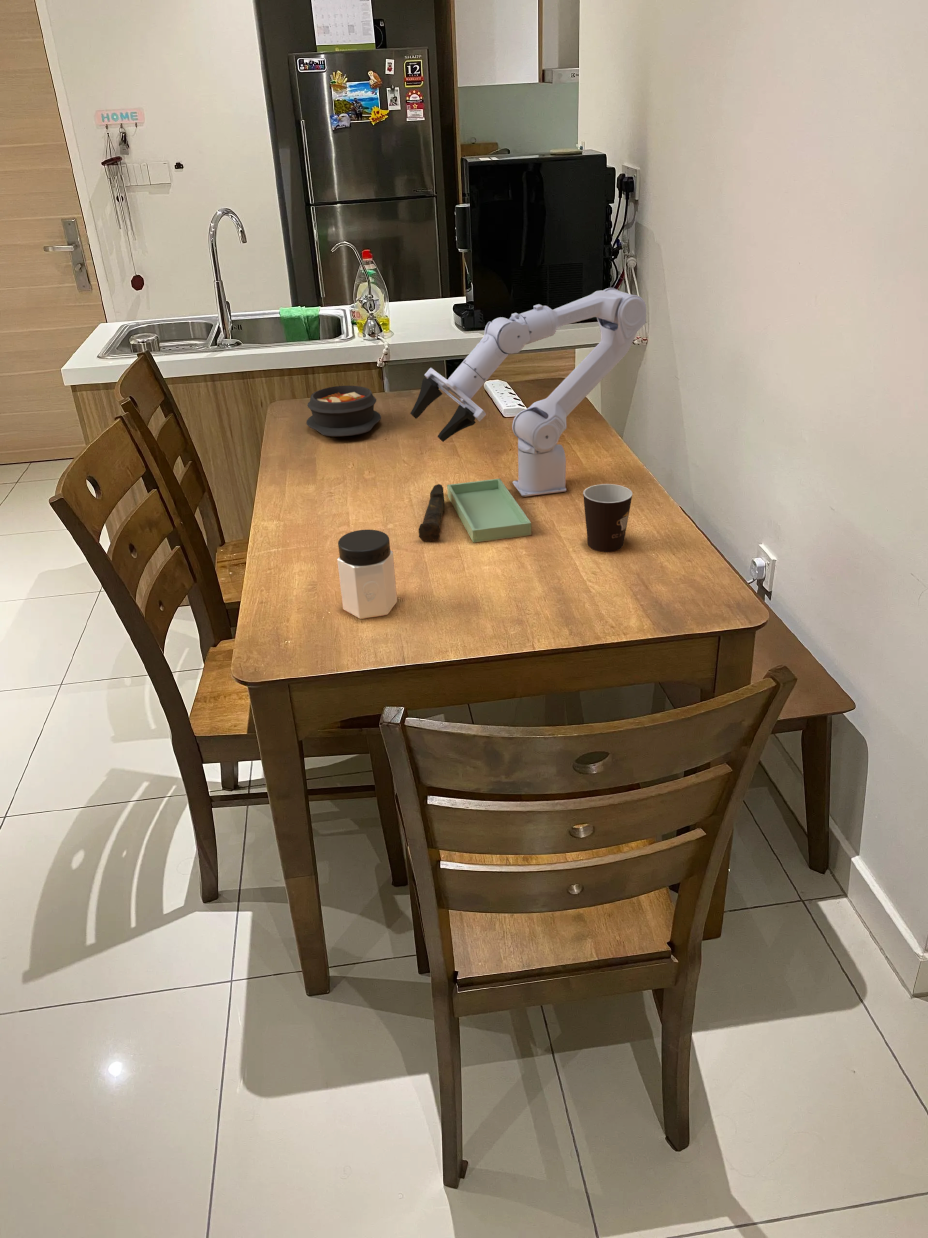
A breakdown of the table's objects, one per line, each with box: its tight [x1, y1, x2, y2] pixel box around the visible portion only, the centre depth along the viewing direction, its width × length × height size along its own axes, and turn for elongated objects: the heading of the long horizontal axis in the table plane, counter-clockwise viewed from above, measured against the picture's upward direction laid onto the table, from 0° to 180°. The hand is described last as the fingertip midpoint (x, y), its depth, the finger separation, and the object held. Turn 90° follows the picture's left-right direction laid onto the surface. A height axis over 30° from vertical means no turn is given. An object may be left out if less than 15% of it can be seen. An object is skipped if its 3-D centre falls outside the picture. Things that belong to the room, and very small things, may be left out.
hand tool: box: [418, 483, 445, 543], centre depth 180 cm, size 19×4×5 cm, turn 173°
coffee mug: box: [582, 483, 633, 553], centre depth 168 cm, size 12×9×10 cm
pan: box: [446, 478, 532, 543], centre depth 182 cm, size 11×23×2 cm, turn 13°
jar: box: [336, 529, 398, 620], centre depth 150 cm, size 9×8×12 cm
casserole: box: [306, 385, 382, 438], centre depth 231 cm, size 25×19×8 cm
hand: (426, 427), depth 177 cm, fingers open, 7 cm apart
